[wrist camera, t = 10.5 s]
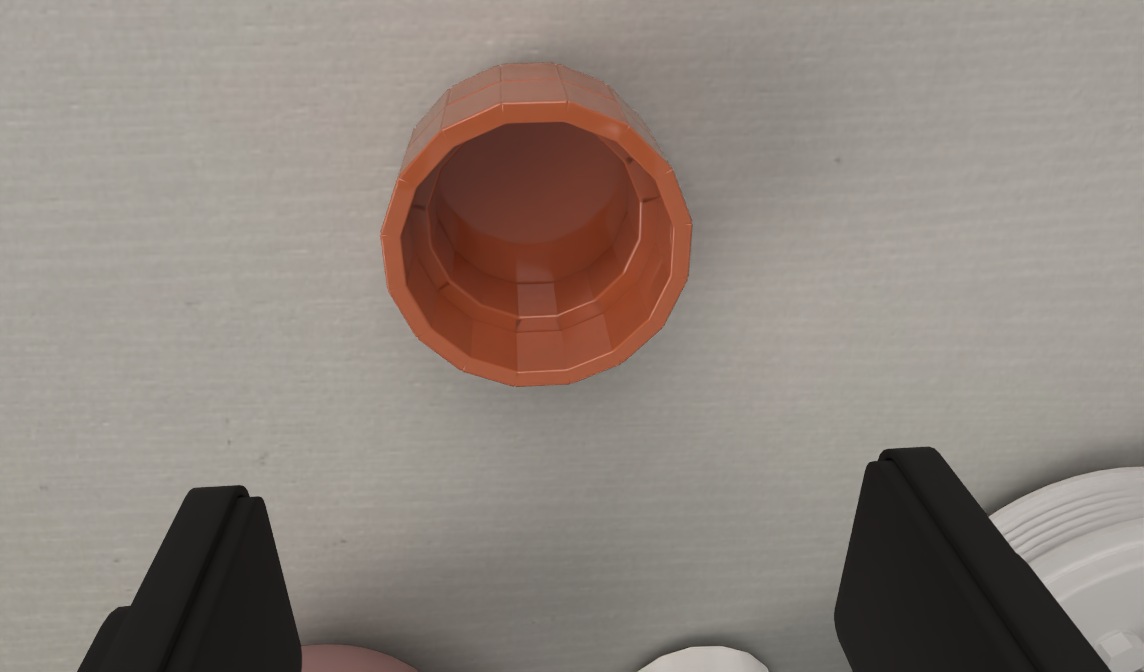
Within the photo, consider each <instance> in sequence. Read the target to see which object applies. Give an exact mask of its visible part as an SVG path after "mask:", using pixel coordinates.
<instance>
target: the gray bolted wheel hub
mask: <svg viewBox="0 0 1144 672" xmlns="http://www.w3.org/2000/svg"><path fill="white" fill-rule="evenodd" d="M989 518H990V520H991V521H992V522H993V524H994V525H995V526H996V527H997V529H998V530H999V531H1000V533H1001V534H1002V535H1003V537H1004V538H1005V539H1006V540H1007V542H1008V543H1009V544H1010V546H1011V547H1012V548H1013V550H1014V551H1015V552H1016V553H1017V554H1019V555H1020V556H1021V557H1022V558H1023V559H1024V560H1025V561H1026V562H1027V563H1028V564H1029V566H1030V567H1031V568H1032V569H1033V571H1034V572H1035V573H1036V575H1037V576H1038V577H1039V578H1040V580H1041V581H1042V582H1043V584H1044V585H1045V586H1046V588H1047V589H1048V590H1049V591H1050V593H1051V594H1052V595H1053V597H1054V598H1055V599H1056V600H1057V602H1058V603H1059V604H1060V606H1061V607H1062V608H1063V610H1064V611H1065V612H1066V613H1067V615H1068V616H1069V617H1070V619H1071V620H1072V621H1073V622H1074V624H1075V625H1076V626H1077V628H1078V629H1079V630H1080V631H1081V633H1082V634H1083V635H1084V637H1085V638H1086V639H1087V641H1088V642H1089V643H1090V644H1091V646H1092V647H1093V648H1094V650H1095V651H1096V652H1097V653H1098V655H1099V656H1100V657H1101V659H1102V660H1103V661H1104V662H1105V664H1106V665H1107V666H1108V668H1109V669H1110V670H1111V672H1144V467H1122V468H1115V469H1107V470H1100V471H1095V472H1091V473H1087V474H1083V475H1079V476H1074V477H1071V478H1068V479H1065V480H1062V481H1059V482H1056V483H1053V484H1050V485H1048V486H1045V487H1043V488H1041V489H1038V490H1036V491H1034V492H1032V493H1029V494H1027V495H1025V496H1023V497H1021V498H1019V499H1017V500H1015V501H1014V502H1012V503H1010V504H1008V505H1006V506H1005V507H1003V508H1001V509H999V510H998V511H996V512H995V513H993V514H992V515H990V516H989Z"/></svg>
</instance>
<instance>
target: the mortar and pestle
mask: <svg viewBox="0 0 1144 672" xmlns="http://www.w3.org/2000/svg"><path fill="white" fill-rule="evenodd" d="M301 649H302V671H301V672H419V671H417V670H416V669H414V668H413V667H411V666H410V665H408V664H406V663H404V662H402V661H400V660H398V659H396V658H394V657H391V656H389V655H386V654H384V653H381V652H378V651H375V650H371V649H367V648H363V647H357V646H350V645H339V644H318V645H307V646H301Z"/></svg>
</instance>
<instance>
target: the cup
mask: <svg viewBox="0 0 1144 672" xmlns="http://www.w3.org/2000/svg"><path fill="white" fill-rule="evenodd" d="M638 672H769V671H768V669H767V667H766V666H764V665H763V664H762V663H761V662H759V661H758V660H757V659H756V658H754V657H753V656H752V655H751V654H749V653H747V652H743V651H739V650H735V649H731V648H728V647H724V646H706V647H689V648H686V649H683V650H680V651H677V652H673V653H670V654H667V655H664V656H661V657H659V658H658V659H656V660H655V661H653V662H652V663H650V664H648V665H647V666H645V667H644V668H642V669H641V670H639V671H638Z"/></svg>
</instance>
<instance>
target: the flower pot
mask: <svg viewBox="0 0 1144 672" xmlns="http://www.w3.org/2000/svg"><path fill="white" fill-rule="evenodd" d="M691 237H692V219H691V217H690V214H689V211H688V208H687V206H686V203H685V200H684V198H683V195H682V192H681V190H680V187H679V184H678V181H677V179H676V176H675V173H674V171H673V169H672V167H671V165H670V164H669V162H668V160H667V159H666V157H665V155H664V154H663V152H662V150H661V149H660V147H659V146H658V144H657V142H656V141H655V139H654V137H653V136H652V134H651V132H650V131H649V129H648V127H647V126H646V124H645V123H644V121H643V120H642V118H641V117H640V116H639V115H638V114H637V113H636V112H635V111H634V110H633V109H632V108H631V107H630V106H629V105H628V104H627V103H626V102H625V101H624V100H623V99H622V98H621V97H620V96H619V95H618V94H617V93H616V92H615V91H614V90H613V89H612V88H611V87H610V86H609V85H606V84H605V83H604V82H603V81H600V80H598V79H595V78H593V77H590V76H588V75H585V74H583V73H581V72H578V71H576V70H573V69H571V68H568V67H566V66H563V65H561V64H557V65H556V64H555V63H515V64H502V65H501V66H495V67H493V68H490V69H488V70H486V71H484V72H482V73H479V74H477V75H475V76H473V77H471V78H469V79H466V80H464V81H462V82H460V83H458V84H456V85H453V86H452V88H451V89H448V90H447V91H446V92H445V93H444V94H443V95H442V96H441V98H440V99H439V100H438V101H437V102H436V103H435V104H434V106H433V107H432V108H431V109H430V110H429V111H428V112H427V113H426V115H425V116H424V117H423V118H422V119H421V120H420V121H419V122H418V124H417V125H416V128H414V130H413V132H412V135H411V138H410V141H409V144H408V147H407V150H406V153H405V156H404V159H403V162H402V165H401V168H400V171H399V174H398V177H397V180H396V184H395V187H394V190H393V193H392V196H391V200H390V203H389V206H388V209H387V212H386V216H385V219H384V222H383V225H382V229H381V235H380V238H381V245H382V253H383V260H384V268H385V275H386V283H387V289H388V291H389V294H390V295H391V297H392V298H393V300H394V302H395V303H396V305H397V307H398V308H399V310H400V312H401V313H402V315H403V316H404V318H405V320H406V321H407V323H408V325H409V326H410V328H411V330H412V331H413V333H414V334H415V336H416V337H418V339H419V340H420V341H421V342H423V343H424V344H425V345H427V346H428V347H430V348H431V349H432V350H434V351H435V352H436V353H438V354H439V355H440V356H442V357H443V358H444V359H446V360H447V361H448V362H450V363H451V364H452V365H454V366H455V367H457V368H458V369H459V370H462V371H463V372H466V373H469V374H473V375H476V376H479V377H483V378H486V379H490V380H493V381H496V382H500V383H503V384H507V385H510V386H516V387H524V386H544V385H565V384H570V383H575V382H577V381H580V380H582V379H585V378H587V377H590V376H592V375H595V374H597V373H600V372H602V371H605V370H607V369H610V368H612V367H615V366H617V365H620V364H621V362H622V363H623V362H624V361H626V360H627V359H628V358H629V357H630V356H631V355H632V354H633V353H635V352H636V351H637V350H638V349H639V348H640V347H641V346H642V345H644V344H645V343H646V342H647V341H648V340H649V339H650V338H652V337H653V336H654V335H655V334H656V333H657V332H658V331H659V330H661V329H662V326H664V325H665V323H666V321H667V319H668V317H669V315H670V313H671V311H672V309H673V307H674V305H675V303H676V301H677V299H678V297H679V296H680V294H681V292H682V290H683V288H684V286H685V284H686V282H687V280H688V276H689V265H690V251H691Z"/></svg>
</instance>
